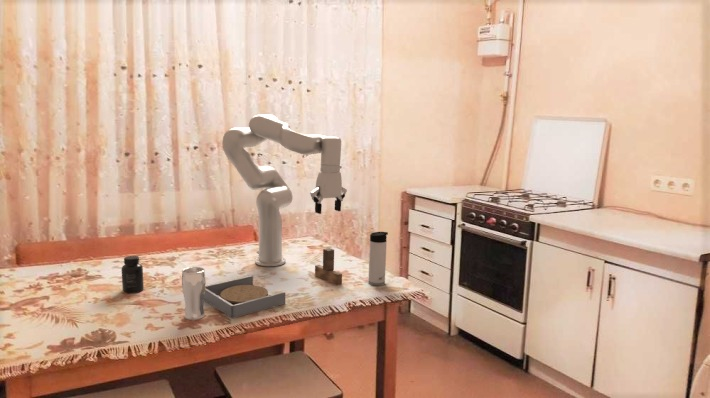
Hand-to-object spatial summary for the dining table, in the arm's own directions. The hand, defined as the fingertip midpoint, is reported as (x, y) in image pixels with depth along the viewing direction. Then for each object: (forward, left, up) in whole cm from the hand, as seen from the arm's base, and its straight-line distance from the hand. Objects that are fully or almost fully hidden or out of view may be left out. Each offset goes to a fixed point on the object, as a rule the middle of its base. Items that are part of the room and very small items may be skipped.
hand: (327, 211), depth 202 cm
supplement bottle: (-25, -67, -25) cm, 76 cm away
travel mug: (+22, +7, -25) cm, 34 cm away
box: (+7, -41, -25) cm, 49 cm away
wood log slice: (+6, -41, -25) cm, 49 cm away
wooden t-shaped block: (+7, -5, -25) cm, 26 cm away
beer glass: (+9, -60, -25) cm, 65 cm away
